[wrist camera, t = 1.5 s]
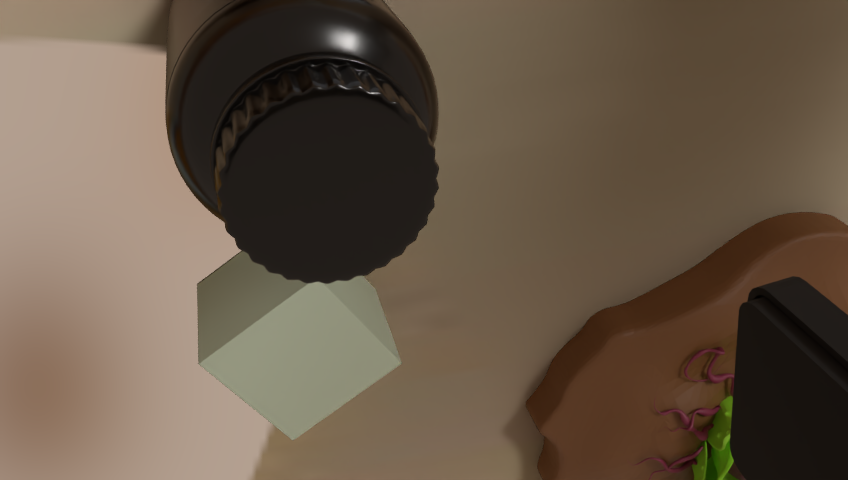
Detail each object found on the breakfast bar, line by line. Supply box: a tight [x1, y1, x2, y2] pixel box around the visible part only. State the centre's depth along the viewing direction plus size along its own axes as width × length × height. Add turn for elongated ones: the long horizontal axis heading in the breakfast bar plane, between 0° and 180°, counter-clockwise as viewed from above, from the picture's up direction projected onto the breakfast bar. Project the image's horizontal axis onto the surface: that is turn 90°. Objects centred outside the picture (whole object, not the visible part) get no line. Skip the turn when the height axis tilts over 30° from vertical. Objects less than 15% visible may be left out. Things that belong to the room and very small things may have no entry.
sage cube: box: [197, 251, 402, 440], centre depth 30 cm, size 5×5×5 cm
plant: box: [526, 212, 848, 480], centre depth 37 cm, size 20×20×11 cm
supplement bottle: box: [166, 0, 439, 284], centre depth 22 cm, size 7×7×12 cm
